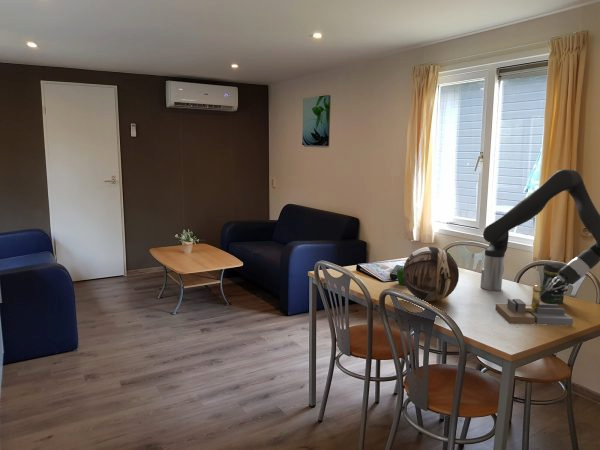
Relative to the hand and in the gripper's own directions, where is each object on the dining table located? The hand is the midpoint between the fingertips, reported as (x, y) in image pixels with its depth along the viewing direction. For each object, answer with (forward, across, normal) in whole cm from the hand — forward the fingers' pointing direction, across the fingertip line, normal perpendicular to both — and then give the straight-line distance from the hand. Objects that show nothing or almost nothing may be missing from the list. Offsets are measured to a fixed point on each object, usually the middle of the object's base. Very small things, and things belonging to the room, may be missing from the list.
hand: (540, 297), depth 196 cm
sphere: (+36, -19, -23) cm, 47 cm away
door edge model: (+9, 0, +4) cm, 9 cm away
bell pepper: (+41, -44, -28) cm, 66 cm away
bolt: (+7, 0, +1) cm, 7 cm away
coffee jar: (-5, -23, +18) cm, 29 cm away
